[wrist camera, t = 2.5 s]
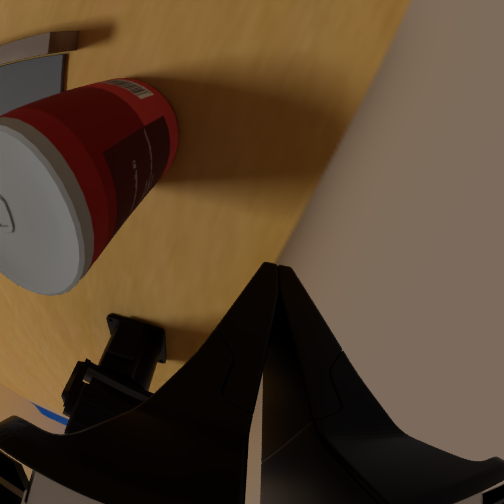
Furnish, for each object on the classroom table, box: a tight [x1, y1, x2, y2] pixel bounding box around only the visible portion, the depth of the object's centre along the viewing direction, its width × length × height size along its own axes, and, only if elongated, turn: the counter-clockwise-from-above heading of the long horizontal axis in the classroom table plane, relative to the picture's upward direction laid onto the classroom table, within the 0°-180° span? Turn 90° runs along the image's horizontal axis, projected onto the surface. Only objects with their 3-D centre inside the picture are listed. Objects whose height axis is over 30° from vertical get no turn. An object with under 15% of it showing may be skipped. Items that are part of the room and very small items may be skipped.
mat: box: [0, 54, 65, 116], centre depth 16 cm, size 11×14×1 cm
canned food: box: [0, 78, 179, 296], centre depth 12 cm, size 8×8×11 cm
